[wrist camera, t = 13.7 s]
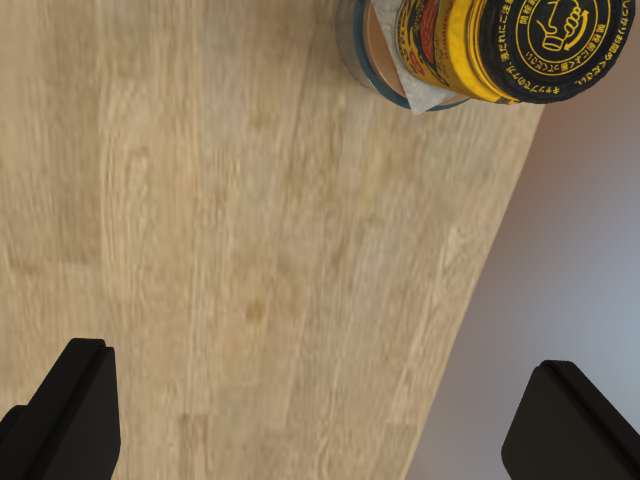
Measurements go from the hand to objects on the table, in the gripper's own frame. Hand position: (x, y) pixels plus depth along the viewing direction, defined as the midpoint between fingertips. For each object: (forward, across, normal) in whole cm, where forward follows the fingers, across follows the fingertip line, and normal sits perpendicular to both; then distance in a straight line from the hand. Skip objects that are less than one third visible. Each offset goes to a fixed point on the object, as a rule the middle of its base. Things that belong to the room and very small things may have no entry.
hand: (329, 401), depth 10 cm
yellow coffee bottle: (+20, -9, -9) cm, 24 cm away
